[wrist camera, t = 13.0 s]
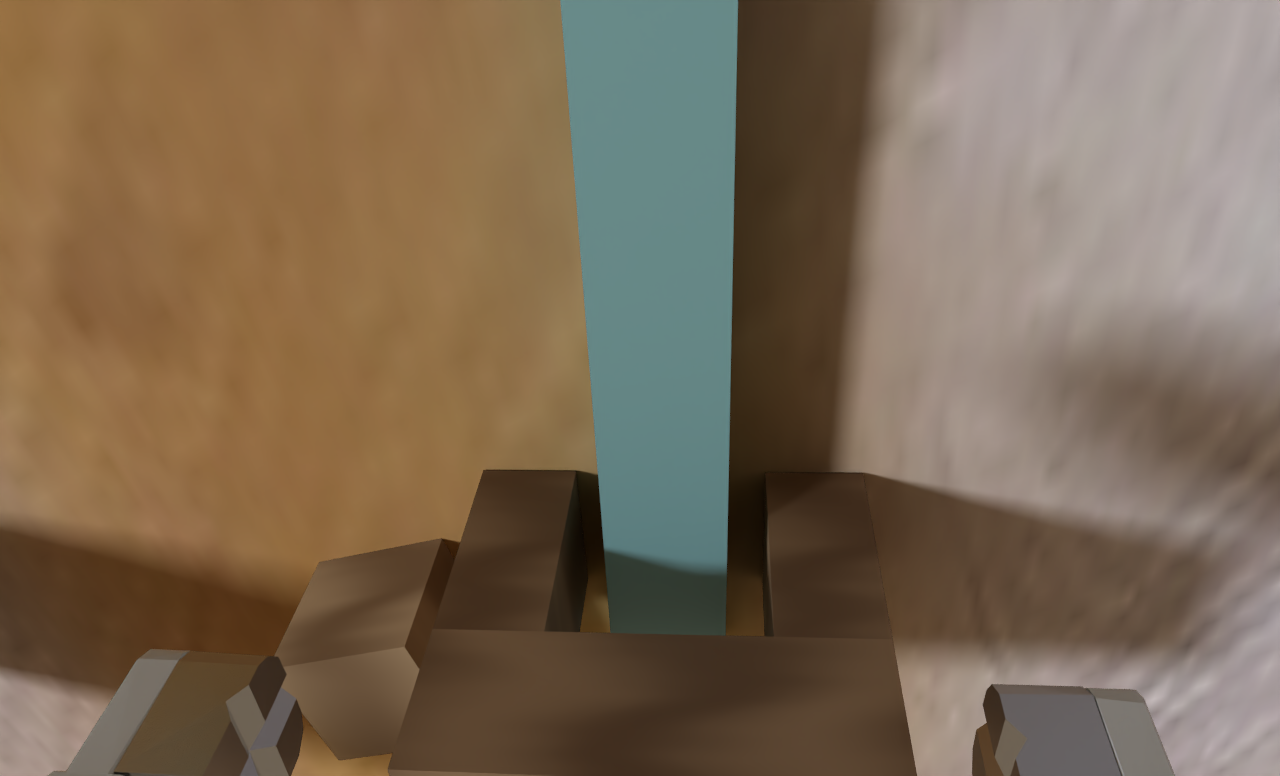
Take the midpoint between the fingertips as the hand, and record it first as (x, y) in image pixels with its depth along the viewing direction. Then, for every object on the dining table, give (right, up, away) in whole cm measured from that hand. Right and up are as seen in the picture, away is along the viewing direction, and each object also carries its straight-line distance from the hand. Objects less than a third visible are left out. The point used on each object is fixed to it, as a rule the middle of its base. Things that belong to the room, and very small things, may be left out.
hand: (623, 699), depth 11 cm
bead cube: (-7, -3, +18) cm, 19 cm away
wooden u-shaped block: (+1, 0, +15) cm, 16 cm away
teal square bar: (+1, +6, +12) cm, 13 cm away
